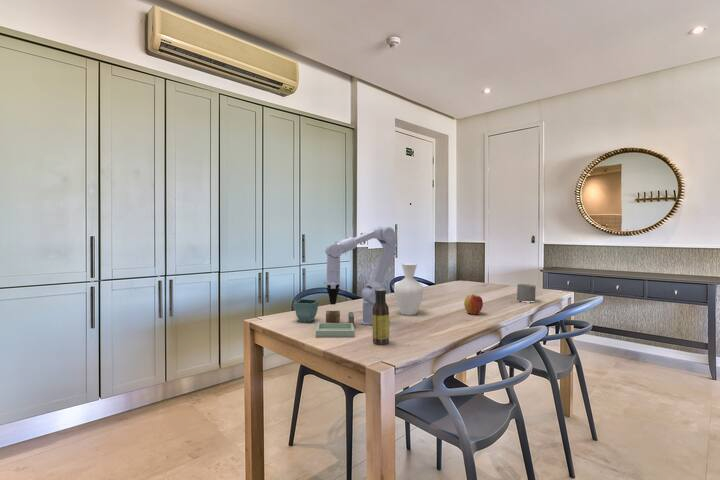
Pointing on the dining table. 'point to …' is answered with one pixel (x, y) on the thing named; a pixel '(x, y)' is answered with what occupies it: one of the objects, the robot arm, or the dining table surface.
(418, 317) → the dining table surface
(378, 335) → the sauce bottle
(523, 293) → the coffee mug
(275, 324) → the dining table surface
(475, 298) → the apple
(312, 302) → the flower pot
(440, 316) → the dining table surface
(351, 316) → the block
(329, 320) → the brown block
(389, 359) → the dining table surface
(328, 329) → the tray
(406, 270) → the vase
